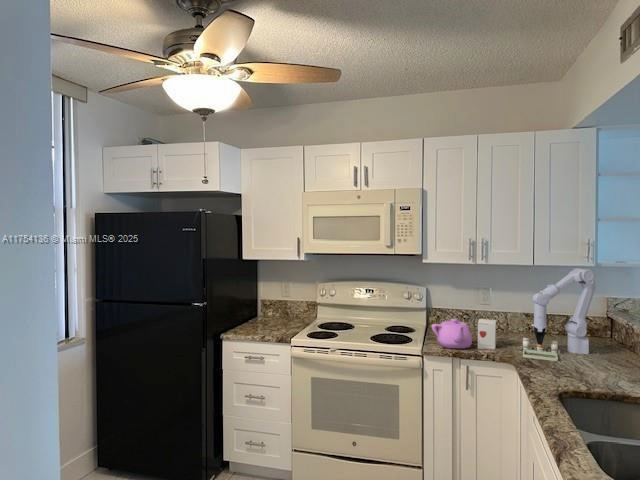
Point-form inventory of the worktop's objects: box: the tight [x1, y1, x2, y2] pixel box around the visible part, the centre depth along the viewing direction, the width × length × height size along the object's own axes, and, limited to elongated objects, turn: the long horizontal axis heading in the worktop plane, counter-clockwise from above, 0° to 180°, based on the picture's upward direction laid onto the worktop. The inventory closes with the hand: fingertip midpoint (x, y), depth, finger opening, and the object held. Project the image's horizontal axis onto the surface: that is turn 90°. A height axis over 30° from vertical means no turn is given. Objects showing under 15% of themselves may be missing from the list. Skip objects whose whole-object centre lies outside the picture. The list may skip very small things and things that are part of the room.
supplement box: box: [477, 318, 497, 350], centre depth 232 cm, size 9×9×15 cm
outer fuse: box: [522, 337, 530, 350], centre depth 226 cm, size 3×3×6 cm
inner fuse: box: [550, 339, 559, 353], centre depth 220 cm, size 3×3×6 cm
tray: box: [522, 349, 559, 362], centre depth 214 cm, size 15×11×2 cm
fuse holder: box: [519, 345, 562, 356], centre depth 223 cm, size 19×6×2 cm, turn 63°
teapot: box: [431, 318, 473, 350], centre depth 233 cm, size 23×21×15 cm
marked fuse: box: [536, 343, 544, 351], centre depth 223 cm, size 3×3×6 cm
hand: (539, 343), depth 223 cm, fingers open, 7 cm apart
